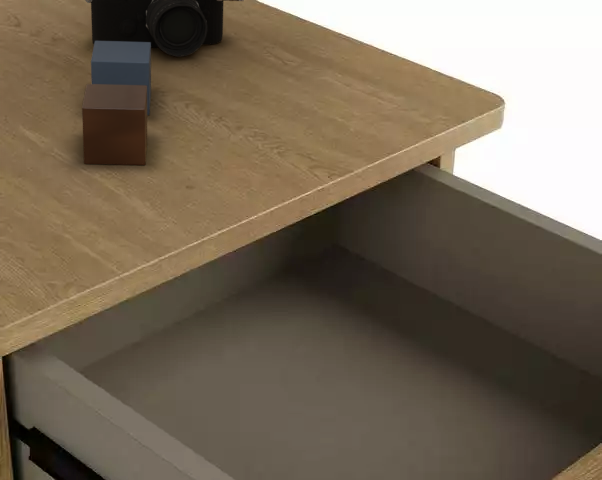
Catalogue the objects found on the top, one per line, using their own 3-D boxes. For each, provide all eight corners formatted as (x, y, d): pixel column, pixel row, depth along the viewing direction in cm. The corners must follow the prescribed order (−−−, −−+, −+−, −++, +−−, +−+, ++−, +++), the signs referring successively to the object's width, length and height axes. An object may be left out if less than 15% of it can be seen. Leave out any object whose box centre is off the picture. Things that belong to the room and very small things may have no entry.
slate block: (92, 114, 115) (90, 61, 112) (96, 92, 119) (94, 40, 116) (149, 115, 115) (149, 62, 113) (151, 93, 119) (150, 42, 117)
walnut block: (84, 164, 106) (81, 107, 104) (88, 138, 110) (86, 83, 108) (145, 165, 107) (144, 109, 104) (147, 139, 111) (147, 84, 108)
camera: (94, 65, 124) (91, -16, 120) (84, 39, 130) (81, -40, 126) (239, 57, 128) (241, -22, 124) (223, 32, 134) (224, -45, 130)
